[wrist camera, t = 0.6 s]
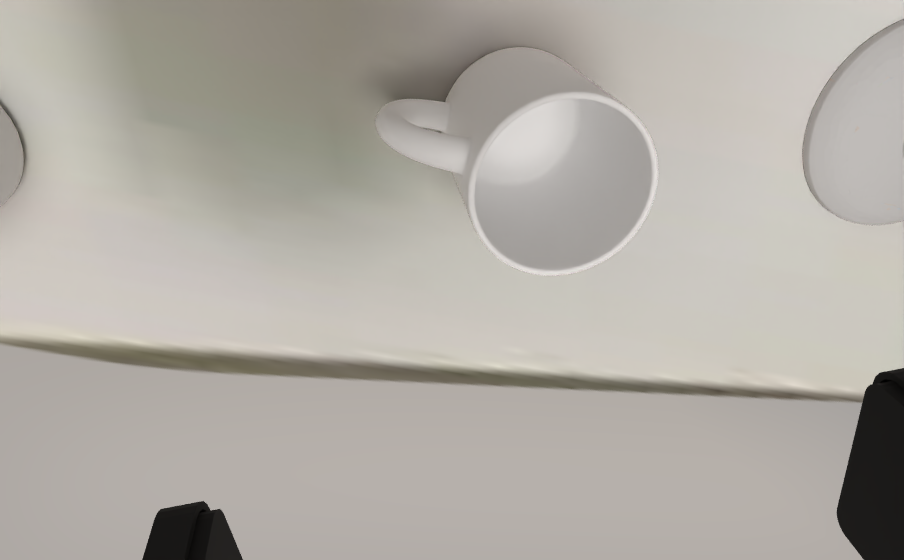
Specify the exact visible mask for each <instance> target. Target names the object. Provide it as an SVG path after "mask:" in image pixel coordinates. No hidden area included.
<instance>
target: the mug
mask: <svg viewBox="0 0 904 560" xmlns="http://www.w3.org/2000/svg"><path fill="white" fill-rule="evenodd" d="M375 125H376V129H377V132H378V134H379V136H380V137H381V139H382V140H383V141H384V142H385V143H386V144H387V145H389V146H390V147H391V148H392V149H394V150H395V151H397V152H398V153H400V154H402V155H404V156H406V157H408V158H410V159H413V160H415V161H418V162H420V163H423V164H426V165H429V166H432V167H436V168H439V169H443V170H446V171H450V172H452V174H453V176H454V179H455V181H456V184H457V186H458V189H459V191H460V194H461V196H462V199H463V201H464V204H465V206H466V209H467V211H468V214H469V217H470V219H471V222H472V224H473V227H474V229H475V231H476V233H477V235H478V237H479V238H480V240H481V241H482V243H483V244H484V245H485V247H486V248H487V249H488V250H489V251H490V252H491V253H492V254H493V255H494V256H495V257H497V258H498V259H499V260H501V261H502V262H503V263H505V264H507V265H509V266H511V267H513V268H515V269H518V270H520V271H523V272H526V273H531V274H535V275H544V276H559V275H566V274H572V273H576V272H580V271H583V270H586V269H588V268H591V267H593V266H595V265H597V264H599V263H601V262H603V261H605V260H606V259H608V258H610V257H611V256H613V255H614V254H615V253H617V252H618V251H619V250H620V249H622V248H623V247H624V246H625V245H626V244H627V243H628V242H629V241H630V240H631V239H632V238H633V236H634V235H635V234H636V233H637V231H638V230H639V229H640V227H641V226H642V224H643V223H644V221H645V219H646V218H647V215H648V213H649V211H650V209H651V207H652V204H653V201H654V198H655V195H656V190H657V185H658V174H659V171H658V158H657V153H656V148H655V146H654V143H653V140H652V137H651V136H650V134H649V132H648V130H647V128H646V127H645V125H644V124H643V123H642V121H641V120H640V119H639V117H637V116H636V115H635V114H634V113H633V112H632V111H631V110H630V109H629V108H627V107H626V106H625V105H623V104H622V103H621V102H619V101H618V100H617V99H615V98H614V97H613V96H611V95H610V94H608V93H607V92H606V91H604V90H603V89H602V88H600V87H599V86H598V85H596V84H595V83H594V82H592V81H591V80H590V79H588V78H587V77H585V76H584V75H583V74H581V73H580V72H579V71H577V70H576V69H575V68H573V67H572V66H571V65H569V64H568V63H566V62H565V61H563V60H562V59H560V58H559V57H557V56H555V55H553V54H551V53H548V52H546V51H543V50H540V49H534V48H528V47H514V48H506V49H502V50H498V51H495V52H492V53H490V54H487V55H486V56H484V57H482V58H480V59H478V60H477V61H476V62H474V63H473V64H472V65H470V66H469V67H468V68H467V69H466V70H465V71H464V72H463V73H462V74H461V75H460V77H459V78H458V79H457V80H456V82H455V83H454V85H453V86H452V88H451V90H450V92H449V94H448V96H447V98H446V101H445V102H440V101H433V100H424V99H401V100H396V101H392V102H390V103H387V104H386V105H384V106H383V107H382V108H381V109H380V110H379V111H378V113H377V116H376V119H375ZM421 127H422V128H421ZM424 128H429V129H434V130H439V131H441V133H439V132H435V131H431V130H427V129H424Z"/></svg>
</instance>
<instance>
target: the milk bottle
mask: <svg viewBox="0 0 904 560" xmlns="http://www.w3.org/2000/svg"><path fill="white" fill-rule="evenodd" d="M23 166H24V156H23V149H22V144H21V141H20V138H19V134H18V131H17V130H16V128H15V126H14V124H13V122H12V120H11V118H10V117H9V116H8V115H7V113H6V112H5V111H4V109H3V108H2V107H1V105H0V207H1V206H2V205H3V204H4V203H5V202H6V201H7V200H8V199H9V198H10V196H11V195H12V194H13V193H14V191H15V190H16V188H17V187H18V185H19V183H20V180H21V177H22V173H23Z"/></svg>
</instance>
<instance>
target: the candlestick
mask: <svg viewBox="0 0 904 560" xmlns="http://www.w3.org/2000/svg"><path fill="white" fill-rule="evenodd" d="M803 167H804V172H805V177H806V180H807V183H808V185H809V188H810V190H811V192H812V193H813V195H814V196H815V198H816V199H817V200H818V201H819V203H820V204H821V205H822V206H824V207H825V208H826V209H827V210H829V211H830V212H832V213H833V214H835V215H836V216H838V217H840V218H842V219H844V220H847V221H850V222H853V223H857V224H863V225H885V224H892V223H897V222H901V221H904V20H901V21H899V22H897V23H895V24H893V25H891V26H889V27H887V28H885V29H883V30H882V31H880V32H878V33H877V34H875V35H874V36H873V37H871V38H870V39H868V40H867V41H866V42H864V43H863V44H862V45H861V46H860V47H858V48H857V49H856V50H855V51H854V52H853V53H852V54H851V55H850V56H849V57H848V58H847V59H846V60H845V61H844V62H843V63H842V64H841V66H840V67H839V68H838V69H837V70H836V72H835V73H834V74H833V75H832V77H831V78H830V80H829V81H828V83H827V84H826V86H825V87H824V89H823V90H822V92H821V94H820V96H819V98H818V99H817V101H816V104H815V106H814V108H813V110H812V113H811V115H810V118H809V121H808V124H807V128H806V132H805V137H804V143H803Z"/></svg>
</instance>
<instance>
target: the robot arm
mask: <svg viewBox="0 0 904 560" xmlns="http://www.w3.org/2000/svg"><path fill="white" fill-rule="evenodd" d="M837 518H838V522H839V525H840V527H841V529H842V531H843V533H844V534H845V536H846V537H847V538H848V540H849V541H850V542H851V544H852V545H853V546H854V547H855V549H856V550H857V551H858V553H859V554H860V555H861V556H862V558H863V559H864V560H904V368H902V369H897V370H892V371H887V372H882V373H879V374H878V375H877V376H876V377H875V379H874V382H873V385H870V386H868V387H867V389H866V391H865V394H864V399H863V403H862V407H861V412H860V415H859V420H858V424H857V428H856V432H855V436H854V440H853V445H852V449H851V453H850V457H849V461H848V466H847V470H846V474H845V478H844V482H843V487H842V490H841V495H840V499H839V503H838V507H837ZM142 560H243V559H242V556H241V554H240V552H239V550H238V547H237V545H236V542H235V540H234V538H233V535H232V533H231V530H230V528H229V526H228V523H227V521H226V518H225V516H224V514H223V512H222V511H221V510H220V509H217V510H212V511H210V509H209V507H208V505H207V504H206V503H205V502H204V501H202V502H196V503H191V504H185V505H181V506H175V507H170V508H164V509H161V510H160V511H159V512H158V513H157V515H156V517H155V520H154V523H153V526H152V529H151V533H150V536H149V539H148V543H147V546H146V549H145V553H144V556H143V559H142Z"/></svg>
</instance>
